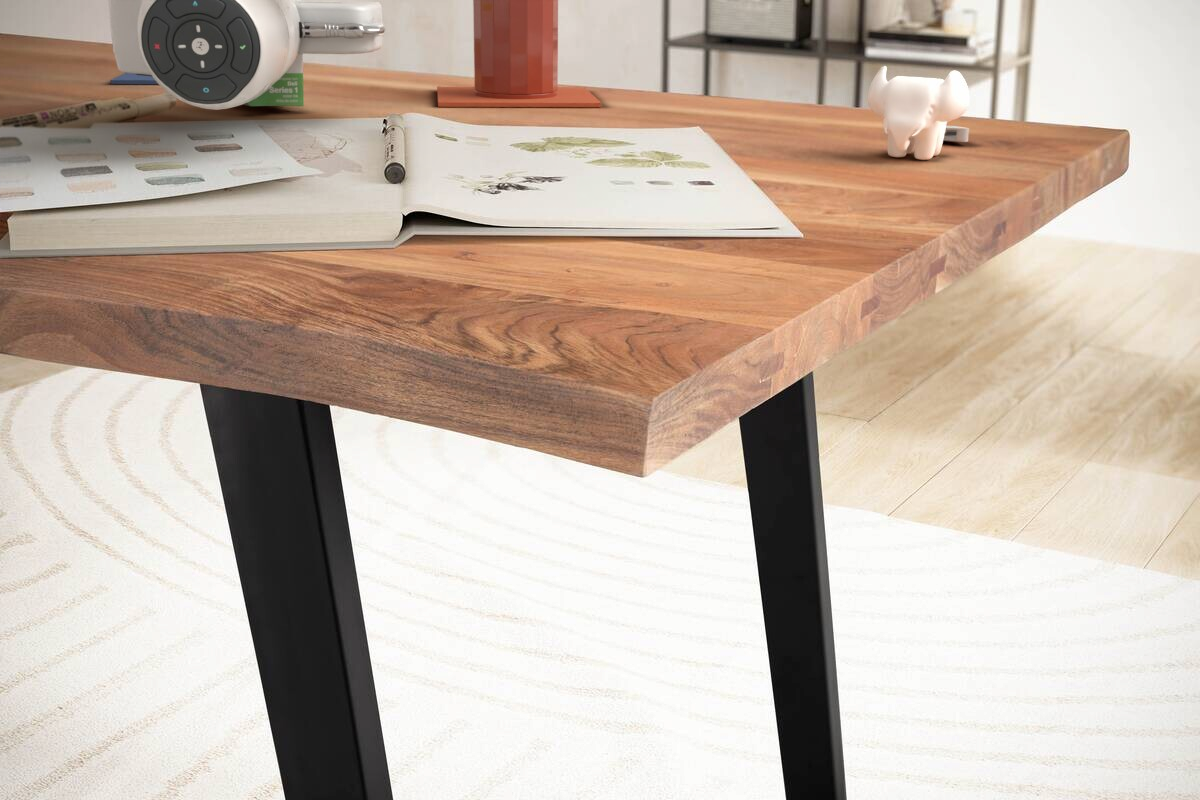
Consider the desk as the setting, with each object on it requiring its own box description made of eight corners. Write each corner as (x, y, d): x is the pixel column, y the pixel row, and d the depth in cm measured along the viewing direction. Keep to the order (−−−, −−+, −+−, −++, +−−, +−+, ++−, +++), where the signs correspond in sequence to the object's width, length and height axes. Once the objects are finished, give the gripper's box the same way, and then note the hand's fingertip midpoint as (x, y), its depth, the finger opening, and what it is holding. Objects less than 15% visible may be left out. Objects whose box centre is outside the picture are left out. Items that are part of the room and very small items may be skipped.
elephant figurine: (846, 160, 85) (853, 69, 83) (879, 145, 92) (887, 60, 90) (947, 170, 83) (957, 75, 81) (974, 153, 89) (984, 66, 87)
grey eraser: (899, 138, 98) (900, 123, 97) (925, 137, 99) (926, 122, 98) (951, 144, 92) (951, 128, 92) (977, 142, 93) (978, 126, 93)
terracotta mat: (438, 106, 109) (437, 102, 108) (437, 91, 120) (437, 86, 120) (601, 107, 110) (601, 102, 110) (585, 91, 122) (585, 87, 121)
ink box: (306, 107, 103) (304, -47, 100) (245, 107, 101) (240, -51, 97) (276, 96, 110) (273, -48, 107) (218, 96, 108) (213, -52, 104)
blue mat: (110, 84, 120) (110, 79, 120) (135, 72, 130) (135, 68, 130) (230, 84, 122) (230, 80, 121) (246, 73, 132) (245, 69, 132)
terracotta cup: (476, 103, 111) (474, -5, 108) (473, 93, 118) (471, -8, 115) (560, 104, 112) (561, -4, 109) (553, 94, 119) (553, -7, 116)
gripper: (382, -14, 92) (388, -19, 105) (85, -21, 89) (128, -25, 102) (385, 76, 94) (390, 60, 107) (95, 72, 91) (136, 56, 104)
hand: (260, 18), depth 104 cm, fingers closed on ink box, 6 cm apart
